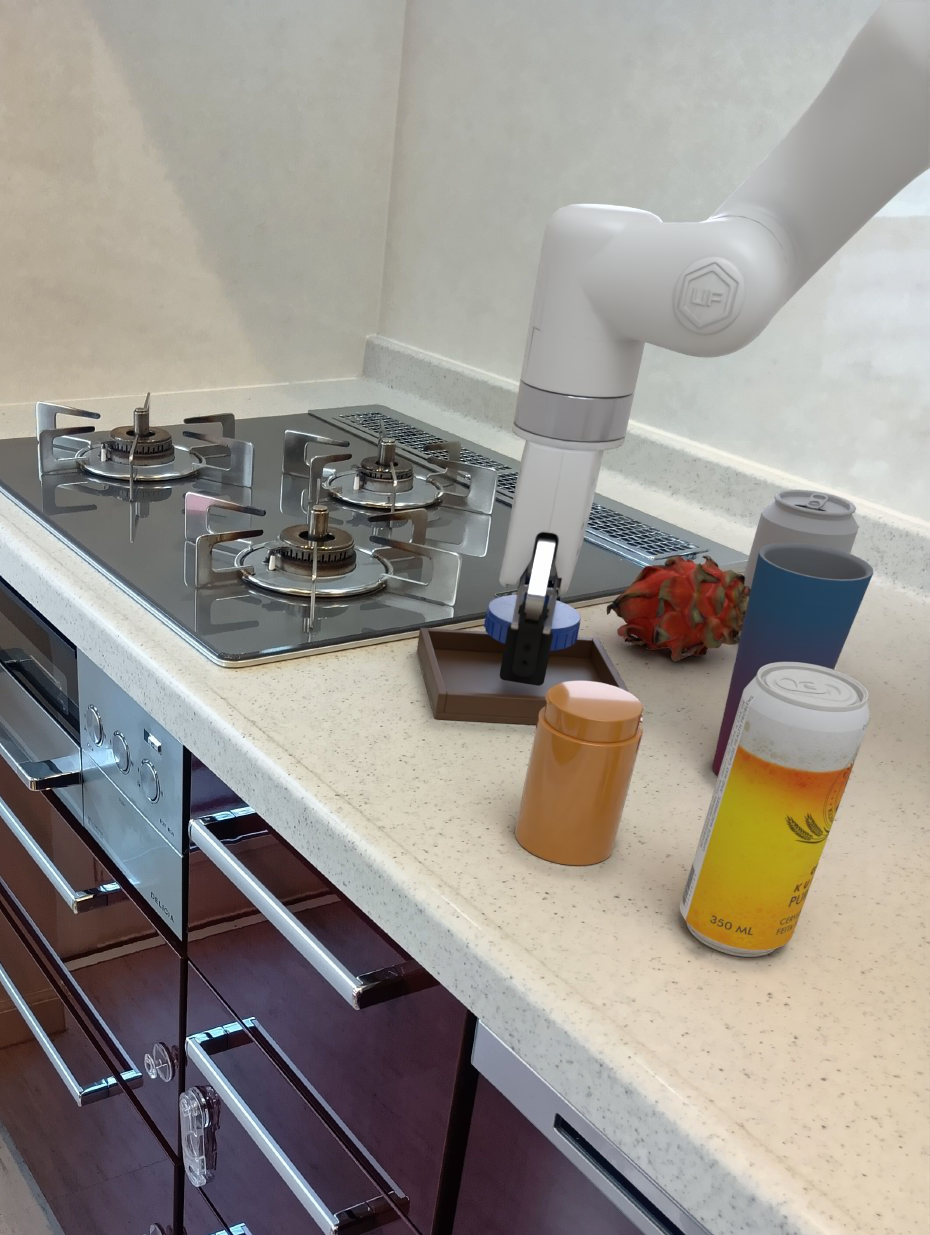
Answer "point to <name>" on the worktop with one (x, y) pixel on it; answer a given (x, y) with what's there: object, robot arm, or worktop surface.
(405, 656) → the worktop surface
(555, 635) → the lid
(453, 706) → the tray
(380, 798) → the worktop surface
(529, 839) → the jar
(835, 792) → the beer can
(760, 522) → the can
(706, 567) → the dragon fruit
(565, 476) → the robot arm
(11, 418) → the worktop surface
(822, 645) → the cup
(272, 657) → the worktop surface
